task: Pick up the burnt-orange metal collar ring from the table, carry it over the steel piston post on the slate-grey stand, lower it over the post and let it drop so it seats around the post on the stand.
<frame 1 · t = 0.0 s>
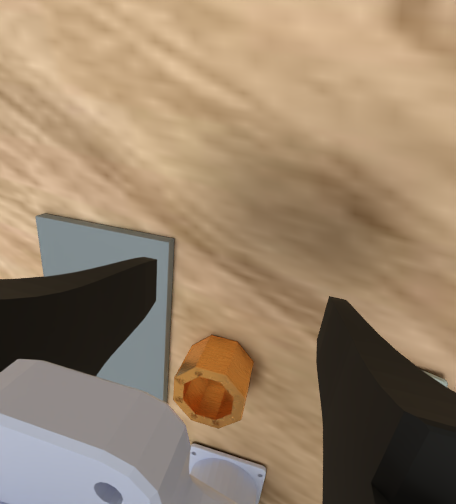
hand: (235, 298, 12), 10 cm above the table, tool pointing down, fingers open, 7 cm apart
collar ring: (221, 363, 26), on the table
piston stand: (111, 316, 28), on the table
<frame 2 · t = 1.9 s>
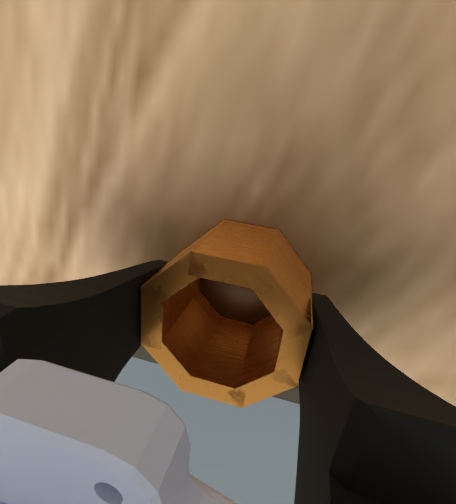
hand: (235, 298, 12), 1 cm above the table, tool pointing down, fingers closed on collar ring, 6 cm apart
collar ring: (242, 283, 13), on the table, touching gripper
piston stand: (186, 436, 18), on the table
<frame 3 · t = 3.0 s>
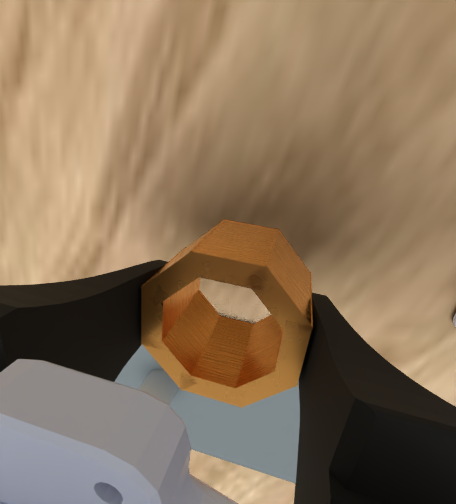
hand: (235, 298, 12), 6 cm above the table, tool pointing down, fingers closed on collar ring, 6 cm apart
collar ring: (242, 283, 13), point 4 cm above the table, touching gripper
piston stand: (206, 383, 22), on the table
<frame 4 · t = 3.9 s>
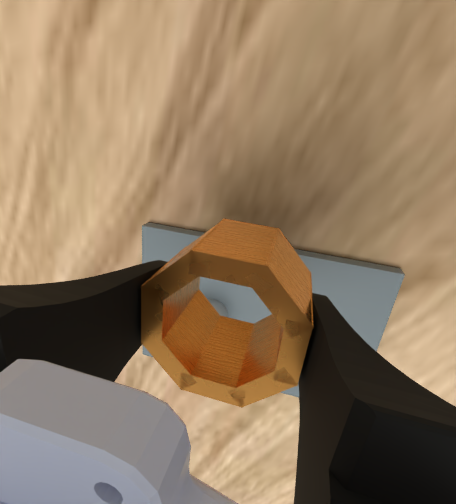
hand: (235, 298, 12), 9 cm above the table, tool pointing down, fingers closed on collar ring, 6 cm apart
collar ring: (242, 282, 13), point 8 cm above the table, touching gripper
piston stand: (252, 314, 23), on the table
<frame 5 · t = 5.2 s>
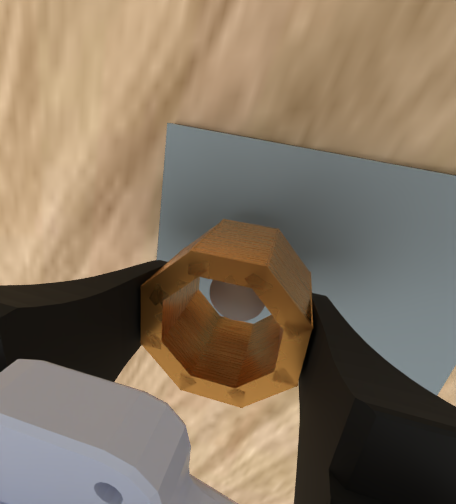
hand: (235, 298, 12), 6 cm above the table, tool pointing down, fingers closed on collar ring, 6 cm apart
collar ring: (242, 282, 13), point 5 cm above the table, touching gripper
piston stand: (308, 260, 17), on the table
when the fingers open (5 cm above the table, at t = 6.1 s): collar ring drops 3 cm, resting on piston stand.
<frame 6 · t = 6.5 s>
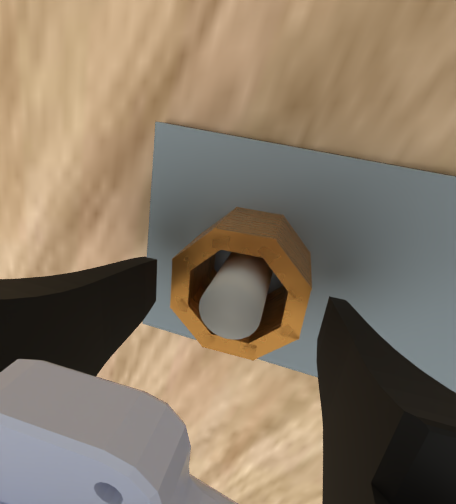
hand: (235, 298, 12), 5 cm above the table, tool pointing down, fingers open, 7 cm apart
collar ring: (251, 262, 16), point 1 cm above the table, touching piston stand
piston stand: (307, 269, 16), on the table
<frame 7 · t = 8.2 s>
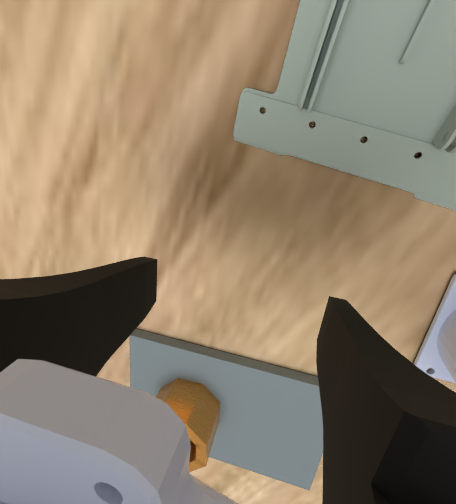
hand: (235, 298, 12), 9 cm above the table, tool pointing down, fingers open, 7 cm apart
collar ring: (190, 404, 27), point 1 cm above the table, touching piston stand
metal bracket: (393, 60, 16), on the table
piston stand: (224, 405, 27), on the table
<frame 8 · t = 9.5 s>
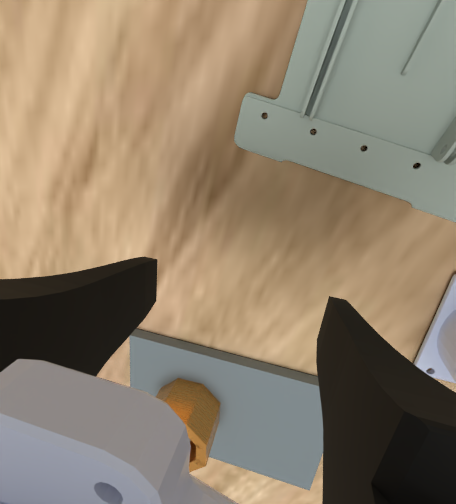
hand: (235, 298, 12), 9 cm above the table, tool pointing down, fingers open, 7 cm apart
collar ring: (190, 404, 27), point 1 cm above the table, touching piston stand
metal bracket: (395, 71, 16), on the table
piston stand: (224, 405, 27), on the table
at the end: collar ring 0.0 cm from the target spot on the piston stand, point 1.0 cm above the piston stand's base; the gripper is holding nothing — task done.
